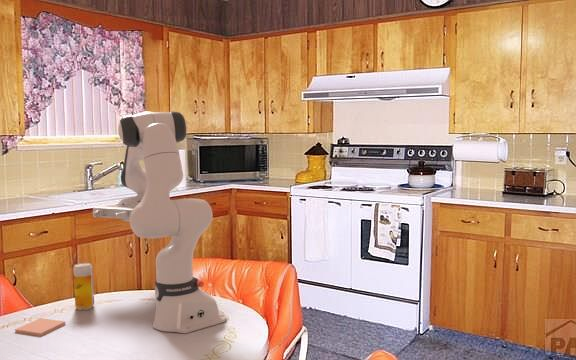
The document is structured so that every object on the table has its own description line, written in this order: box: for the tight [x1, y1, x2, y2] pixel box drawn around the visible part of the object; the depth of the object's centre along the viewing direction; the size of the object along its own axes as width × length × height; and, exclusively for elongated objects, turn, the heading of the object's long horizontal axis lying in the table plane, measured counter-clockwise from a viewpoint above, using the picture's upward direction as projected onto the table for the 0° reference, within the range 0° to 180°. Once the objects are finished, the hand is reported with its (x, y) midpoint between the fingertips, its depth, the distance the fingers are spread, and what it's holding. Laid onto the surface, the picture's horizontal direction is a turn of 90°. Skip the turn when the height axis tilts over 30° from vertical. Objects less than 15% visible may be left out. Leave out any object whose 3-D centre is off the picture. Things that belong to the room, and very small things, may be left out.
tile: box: [14, 317, 66, 337], centre depth 168 cm, size 1×10×10 cm
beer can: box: [72, 262, 95, 311], centre depth 185 cm, size 6×6×15 cm
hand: (104, 215), depth 194 cm, fingers open, 8 cm apart
